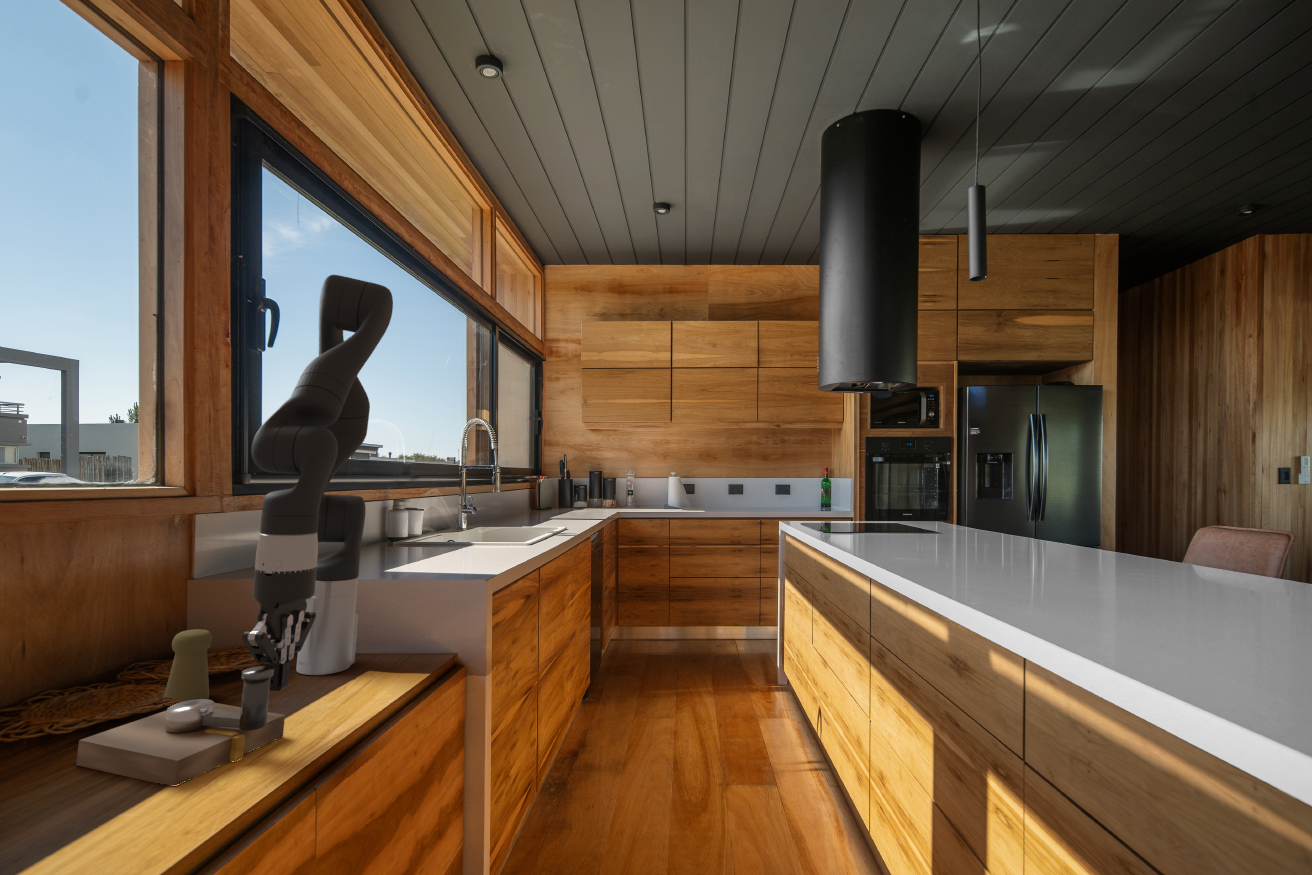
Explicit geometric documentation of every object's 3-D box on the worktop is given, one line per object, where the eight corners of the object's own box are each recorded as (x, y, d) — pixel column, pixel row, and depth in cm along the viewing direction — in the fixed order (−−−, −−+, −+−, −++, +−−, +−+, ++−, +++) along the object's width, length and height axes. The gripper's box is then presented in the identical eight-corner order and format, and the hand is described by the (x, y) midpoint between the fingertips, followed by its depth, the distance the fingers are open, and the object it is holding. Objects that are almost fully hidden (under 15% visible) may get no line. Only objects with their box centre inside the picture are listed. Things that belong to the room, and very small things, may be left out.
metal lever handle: (154, 730, 77) (161, 669, 78) (187, 715, 82) (193, 658, 83) (250, 738, 76) (257, 676, 77) (278, 723, 81) (284, 665, 82)
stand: (195, 720, 89) (197, 698, 89) (287, 737, 84) (289, 714, 85) (76, 764, 74) (79, 738, 74) (179, 788, 70) (182, 759, 70)
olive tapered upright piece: (183, 709, 93) (191, 636, 93) (151, 704, 94) (159, 632, 95) (218, 695, 98) (225, 628, 99) (188, 691, 100) (196, 624, 101)
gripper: (290, 556, 91) (281, 671, 90) (226, 570, 78) (214, 705, 77) (338, 559, 91) (329, 674, 90) (282, 574, 78) (271, 709, 77)
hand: (276, 688), depth 84 cm, fingers closed
